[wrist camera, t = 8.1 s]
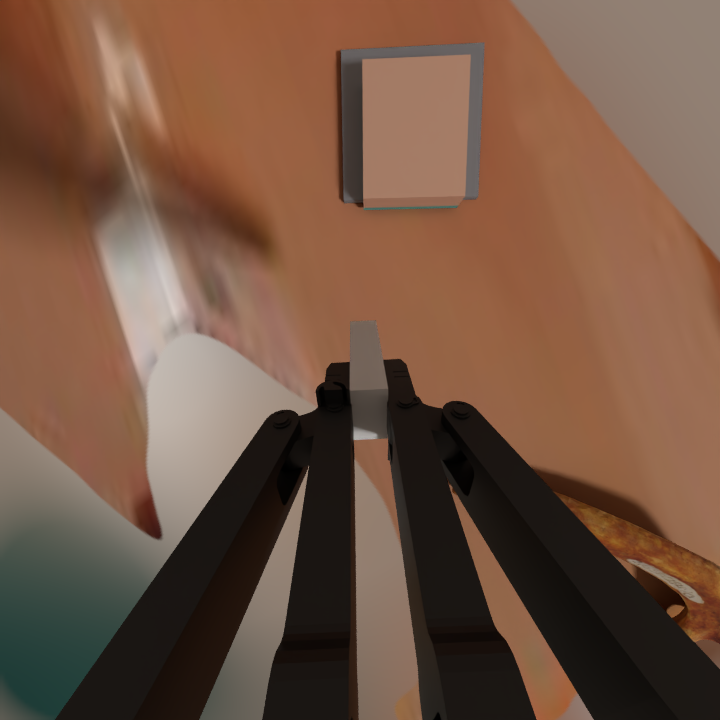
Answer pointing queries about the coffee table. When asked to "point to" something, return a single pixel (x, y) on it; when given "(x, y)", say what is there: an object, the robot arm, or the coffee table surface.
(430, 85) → the tile
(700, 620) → the brown curved bar
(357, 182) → the pad
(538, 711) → the coffee table surface
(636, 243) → the coffee table surface
